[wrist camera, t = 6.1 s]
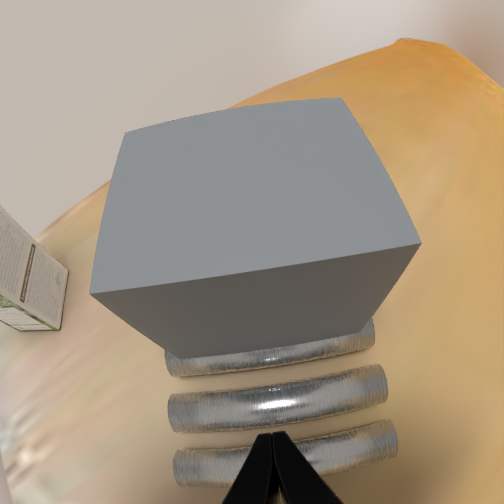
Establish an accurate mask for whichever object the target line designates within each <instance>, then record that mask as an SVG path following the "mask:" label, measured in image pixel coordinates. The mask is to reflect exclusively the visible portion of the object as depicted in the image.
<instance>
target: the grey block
mask: <svg viewBox="0 0 504 504" xmlns="http://www.w3.org/2000/svg"><path fill="white" fill-rule="evenodd" d="M420 245H421V240H420V238H419V236H418V233H417V231H416V229H415V227H414V225H413V222H412V220H411V218H410V216H409V214H408V212H407V210H406V208H405V206H404V204H403V202H402V200H401V198H400V196H399V194H398V192H397V190H396V188H395V186H394V184H393V182H392V180H391V178H390V177H389V175H388V173H387V171H386V169H385V167H384V166H383V164H382V162H381V160H380V159H379V157H378V155H377V153H376V152H375V150H374V148H373V147H372V145H371V143H370V141H369V140H368V138H367V137H366V135H365V133H364V132H363V130H362V128H361V127H360V125H359V124H358V122H357V121H356V119H355V118H354V116H353V114H352V113H351V111H350V110H349V108H348V107H347V105H346V104H345V103H344V101H343V100H342V98H322V99H308V100H296V101H285V102H276V103H268V104H260V105H253V106H246V107H239V108H233V109H227V110H222V111H216V112H210V113H205V114H200V115H195V116H190V117H186V118H181V119H177V120H172V121H168V122H164V123H160V124H156V125H152V126H148V127H145V128H141V129H137V130H133V131H130V132H126V133H125V135H124V138H123V141H122V144H121V147H120V151H119V154H118V158H117V161H116V164H115V168H114V171H113V175H112V179H111V183H110V187H109V191H108V195H107V199H106V203H105V207H104V212H103V216H102V221H101V226H100V231H99V236H98V241H97V247H96V252H95V258H94V264H93V271H92V278H91V285H90V293H89V294H90V295H91V296H93V297H94V298H95V299H96V300H98V301H99V302H100V303H101V304H103V305H104V306H105V307H107V308H108V309H109V310H110V311H112V312H113V313H114V314H116V315H117V316H118V317H120V318H121V319H122V320H124V321H125V322H126V323H128V324H129V325H131V326H132V327H133V328H135V329H136V330H137V331H139V332H140V333H142V334H143V335H145V336H146V337H147V338H149V339H150V340H152V341H153V342H155V343H156V344H158V345H159V346H161V347H162V348H164V349H165V350H167V351H168V352H170V353H171V354H173V355H174V356H176V357H177V358H179V359H187V358H199V357H209V356H218V355H227V354H236V353H244V352H251V351H259V350H266V349H272V348H279V347H285V346H291V345H297V344H303V343H309V342H314V341H320V340H325V339H330V338H335V337H340V336H345V335H349V334H354V333H359V332H360V331H361V330H362V329H363V328H364V326H365V325H366V324H367V322H368V321H369V320H370V318H371V317H372V316H373V314H374V313H375V312H376V310H377V309H378V308H379V306H380V305H381V303H382V302H383V301H384V299H385V298H386V296H387V295H388V294H389V292H390V291H391V289H392V288H393V286H394V285H395V283H396V282H397V281H398V279H399V278H400V276H401V275H402V273H403V272H404V270H405V269H406V267H407V265H408V264H409V262H410V261H411V259H412V258H413V256H414V254H415V253H416V251H417V250H418V248H419V246H420Z"/></svg>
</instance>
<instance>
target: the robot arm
mask: <svg viewBox="0 0 504 504" xmlns="http://www.w3.org/2000/svg"><path fill="white" fill-rule="evenodd" d="M279 487H280V489H279ZM280 491H281V495H282V499H283V502H284V504H344V503H343V502H342V501H341V500H340V499H339V498H338V496H336V494H335V493H334V492H333V491H332V490H331V488H330V487H329V486H328V485H327V484H326V482H325V481H324V480H323V479H322V478H321V476H320V475H319V474H318V473H317V471H316V470H315V469H314V468H313V467H312V465H311V464H310V463H309V462H308V460H307V459H306V458H305V457H304V455H303V454H302V453H301V451H300V450H299V449H298V448H297V446H296V445H295V444H294V442H293V441H292V440H291V439H290V437H289V436H288V435H287V433H286V432H285V431H278V432H273V433H272V434H271V433H263V434H259V435H258V436H257V438H256V440H255V442H254V444H253V446H252V448H251V450H250V452H249V454H248V456H247V458H246V460H245V462H244V463H243V465H242V467H241V469H240V471H239V473H238V475H237V477H236V479H235V480H234V482H233V484H232V486H231V488H230V490H229V491H228V493H227V495H226V497H225V498H224V500H223V502H222V504H279V501H280Z"/></svg>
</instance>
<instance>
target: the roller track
mask: <svg viewBox="0 0 504 504" xmlns="http://www.w3.org/2000/svg"><path fill="white" fill-rule="evenodd" d="M374 342H375V330H374V324H373V320H372V317H371V318H370V320H369V321H368V322H367V324H366V325H365V326H364V328H363V329H362V330H361V331H360V332H359V333H354V334H349V335H345V336H340V337H335V338H330V339H325V340H320V341H314V342H309V343H303V344H297V345H291V346H285V347H279V348H272V349H266V350H259V351H251V352H244V353H236V354H227V355H218V356H209V357H199V358H187V359H179V358H177V357H176V356H174V355H173V354H171V353H170V352H168V351H167V350H165V360H166V365H167V369H168V371H169V373H170V375H171V376H173V377H177V376H192V375H205V374H216V373H226V372H235V371H243V370H251V369H259V368H266V367H273V366H280V365H286V364H292V363H298V362H304V361H309V360H315V359H320V358H325V357H330V356H335V355H340V354H345V353H349V352H354V351H358V350H362V349H367V348H371V347H373V345H374ZM387 397H388V385H387V379H386V376H385V373H384V370H383V368H382V367H381V365H379V364H374V365H370V366H366V367H362V368H358V369H354V370H350V371H345V372H341V373H336V374H331V375H326V376H321V377H316V378H311V379H305V380H300V381H294V382H288V383H281V384H275V385H268V386H260V387H252V388H244V389H235V390H224V391H213V392H200V393H182V394H172V395H171V396H170V397H169V401H168V418H169V422H170V425H171V427H172V429H173V431H174V432H210V431H226V430H239V429H249V428H258V427H267V426H274V425H282V424H288V423H295V422H301V421H306V420H312V419H317V418H322V417H327V416H332V415H336V414H341V413H345V412H349V411H354V410H358V409H361V408H365V407H369V406H373V405H376V404H380V403H383V402H385V401H386V400H387ZM293 442H294V444H295V445H296V446H297V448H298V449H299V450H300V451H301V453H302V454H303V455H304V457H305V458H306V459H307V460H308V462H309V463H310V464H311V465H312V467H313V468H314V469H315V470H316V471H317V473H318V474H319V475H320V476H323V475H327V474H332V473H337V472H341V471H345V470H349V469H353V468H357V467H361V466H365V465H368V464H372V463H375V462H379V461H382V460H385V459H388V458H391V457H394V456H396V454H397V451H398V440H397V434H396V431H395V428H394V426H393V424H392V423H391V421H390V420H384V421H381V422H378V423H374V424H370V425H367V426H363V427H359V428H355V429H351V430H347V431H343V432H339V433H334V434H330V435H325V436H320V437H315V438H309V439H304V440H298V441H293ZM251 448H252V447H240V448H226V449H203V450H177V451H176V453H175V456H174V461H173V469H174V476H175V479H176V482H177V483H178V485H179V486H181V487H231V486H232V484H233V482H234V480H235V479H236V477H237V475H238V473H239V471H240V469H241V467H242V465H243V463H244V462H245V460H246V458H247V456H248V454H249V452H250V450H251Z"/></svg>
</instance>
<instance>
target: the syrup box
mask: <svg viewBox="0 0 504 504" xmlns="http://www.w3.org/2000/svg"><path fill="white" fill-rule="evenodd" d="M67 278H68V270H67V269H66V268H65V267H64V266H63V265H61V264H60V263H59V262H58V261H57V260H56V259H55V258H53V257H52V256H51V255H50V254H49V253H48V252H47V251H46V250H45V249H44V248H43V247H41V246H40V245H39V244H38V243H37V242H36V241H35V240H34V239H33V238H32V237H31V236H30V235H29V234H28V233H27V232H26V231H25V230H24V229H23V228H22V227H21V226H20V225H19V224H18V223H17V222H16V221H15V220H14V219H13V218H12V217H11V216H10V215H9V214H8V213H7V212H6V211H5V209H4V208H3V207H2V206H1V205H0V321H1V322H3V323H5V324H7V325H8V326H10V327H12V328H14V329H16V330H18V331H37V330H59V329H60V324H61V318H62V311H63V304H64V297H65V290H66V284H67Z"/></svg>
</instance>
